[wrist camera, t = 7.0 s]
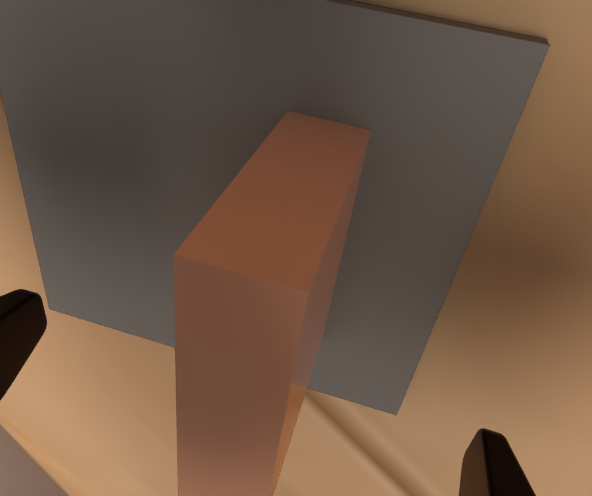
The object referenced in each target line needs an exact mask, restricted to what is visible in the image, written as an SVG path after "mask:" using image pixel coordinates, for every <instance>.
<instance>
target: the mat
mask: <svg viewBox="0 0 592 496" xmlns="http://www.w3.org/2000/svg"><path fill="white" fill-rule="evenodd" d="M549 46H550V45H549V43H548V41H547V39H542V38H537V37H532V36H527V35H522V34H517V33H512V32H507V31H502V30H497V29H491V28H486V27H481V26H476V25H471V24H466V23H461V22H456V21H451V20H446V19H441V18H436V17H431V16H426V15H421V14H415V13H410V12H405V11H400V10H395V9H390V8H385V7H380V6H375V5H370V4H365V3H360V2H355V1H350V0H0V90H1V95H2V99H3V104H4V108H5V113H6V117H7V122H8V126H9V131H10V135H11V140H12V144H13V149H14V153H15V158H16V162H17V167H18V171H19V176H20V180H21V185H22V189H23V194H24V198H25V203H26V207H27V212H28V216H29V221H30V225H31V230H32V234H33V239H34V243H35V248H36V252H37V257H38V261H39V265H40V270H41V274H42V279H43V283H44V288H45V292H46V297H47V301H48V306H49V309H51V310H54V311H57V312H60V313H64V314H67V315H70V316H73V317H77V318H80V319H83V320H87V321H90V322H93V323H96V324H100V325H103V326H106V327H109V328H113V329H116V330H119V331H122V332H126V333H129V334H132V335H136V336H139V337H142V338H145V339H149V340H152V341H155V342H158V343H162V344H165V345H168V346H171V347H175V312H174V261H173V255H174V253H175V252H176V251H177V250H178V248H179V247H180V246H181V245H182V243H183V242H184V241H185V240H186V238H187V237H188V236H189V235H190V233H191V232H192V231H193V230H194V228H195V227H196V226H197V225H198V223H199V222H200V221H201V220H202V218H203V217H204V216H205V215H206V213H207V212H208V211H209V210H210V208H211V207H212V206H213V205H214V203H215V202H216V201H217V200H218V198H219V197H220V196H221V195H222V193H223V192H224V191H225V190H226V188H227V187H228V186H229V184H230V183H231V182H232V181H233V179H234V178H235V177H236V176H237V174H238V173H239V172H240V171H241V169H242V168H243V167H244V166H245V164H246V163H247V162H248V161H249V159H250V158H251V157H252V156H253V154H254V153H255V152H256V151H257V149H258V148H259V147H260V146H261V144H262V143H263V142H264V141H265V139H266V138H267V137H268V136H269V134H270V133H271V132H272V131H273V129H274V128H275V127H276V126H277V124H278V123H279V122H280V121H281V119H282V118H283V117H284V116H285V114H286V113H287V112H288V111H290V112H295V113H299V114H303V115H308V116H312V117H316V118H321V119H325V120H329V121H334V122H338V123H342V124H347V125H351V126H355V127H360V128H364V129H368V130H371V133H370V137H369V141H368V146H367V150H366V154H365V158H364V163H363V167H362V171H361V176H360V180H359V184H358V189H357V193H356V197H355V201H354V206H353V210H352V214H351V219H350V223H349V227H348V231H347V236H346V240H345V244H344V249H343V253H342V257H341V262H340V266H339V270H338V274H337V279H336V283H335V287H334V292H333V296H332V300H331V304H330V309H329V313H328V317H327V322H326V326H325V330H324V335H323V339H322V342H321V345H320V348H319V352H318V355H317V358H316V361H315V364H314V367H313V371H312V374H311V377H310V380H309V383H308V387H307V388H309V389H312V390H315V391H318V392H322V393H325V394H328V395H332V396H335V397H338V398H341V399H345V400H348V401H351V402H354V403H358V404H361V405H364V406H367V407H371V408H374V409H377V410H381V411H384V412H387V413H390V414H394V415H397V413H398V411H399V408H400V406H401V403H402V401H403V399H404V396H405V394H406V391H407V389H408V386H409V384H410V382H411V379H412V377H413V374H414V372H415V370H416V367H417V365H418V362H419V360H420V358H421V355H422V353H423V350H424V348H425V345H426V343H427V341H428V338H429V336H430V333H431V331H432V329H433V326H434V324H435V321H436V319H437V317H438V314H439V312H440V309H441V307H442V304H443V302H444V300H445V297H446V295H447V292H448V290H449V288H450V285H451V283H452V280H453V278H454V275H455V273H456V271H457V268H458V266H459V263H460V261H461V259H462V256H463V254H464V251H465V249H466V247H467V244H468V242H469V239H470V237H471V234H472V232H473V230H474V227H475V225H476V222H477V220H478V218H479V215H480V213H481V210H482V208H483V206H484V203H485V201H486V198H487V196H488V193H489V191H490V189H491V186H492V184H493V181H494V179H495V177H496V174H497V172H498V169H499V167H500V165H501V162H502V160H503V157H504V155H505V152H506V150H507V148H508V145H509V143H510V140H511V138H512V136H513V133H514V131H515V128H516V126H517V123H518V121H519V119H520V116H521V114H522V111H523V109H524V107H525V104H526V102H527V99H528V97H529V95H530V92H531V90H532V87H533V85H534V82H535V80H536V78H537V75H538V73H539V70H540V68H541V66H542V63H543V61H544V58H545V56H546V54H547V51H548V49H549Z"/></svg>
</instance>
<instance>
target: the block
mask: <svg viewBox="0 0 592 496" xmlns="http://www.w3.org/2000/svg"><path fill="white" fill-rule="evenodd" d="M370 133H371V130H368V129H364V128H360V127H355V126H351V125H347V124H342V123H338V122H334V121H329V120H325V119H321V118H316V117H312V116H308V115H303V114H299V113H295V112H290V111H288V112H287V113H286V114H285V116H284V117H283V118H282V119H281V121H280V122H279V123H278V124H277V126H276V127H275V128H274V129H273V131H272V132H271V133H270V134H269V136H268V137H267V138H266V139H265V141H264V142H263V143H262V144H261V146H260V147H259V148H258V149H257V151H256V152H255V153H254V154H253V156H252V157H251V158H250V159H249V161H248V162H247V163H246V164H245V166H244V167H243V168H242V169H241V171H240V172H239V173H238V174H237V176H236V177H235V178H234V179H233V181H232V182H231V183H230V184H229V186H228V187H227V188H226V190H225V191H224V192H223V193H222V195H221V196H220V197H219V198H218V200H217V201H216V202H215V203H214V205H213V206H212V207H211V208H210V210H209V211H208V212H207V213H206V215H205V216H204V217H203V218H202V220H201V221H200V222H199V223H198V225H197V226H196V227H195V228H194V230H193V231H192V232H191V233H190V235H189V236H188V237H187V238H186V240H185V241H184V242H183V243H182V245H181V246H180V247H179V248H178V250H177V251H176V252H175V253H174V255H173V261H174V312H175V364H176V415H177V466H178V496H273V495H274V492H275V488H276V485H277V482H278V479H279V476H280V473H281V469H282V466H283V463H284V460H285V457H286V453H287V450H288V447H289V444H290V441H291V437H292V434H293V431H294V428H295V425H296V422H297V418H298V415H299V412H300V409H301V406H302V402H303V399H304V396H305V393H306V390H307V387H308V383H309V380H310V377H311V374H312V371H313V367H314V364H315V361H316V358H317V355H318V352H319V348H320V345H321V342H322V339H323V335H324V330H325V326H326V322H327V317H328V313H329V309H330V304H331V300H332V296H333V292H334V287H335V283H336V279H337V274H338V270H339V266H340V262H341V257H342V253H343V249H344V244H345V240H346V236H347V231H348V227H349V223H350V219H351V214H352V210H353V206H354V201H355V197H356V193H357V189H358V184H359V180H360V176H361V171H362V167H363V163H364V158H365V154H366V150H367V146H368V141H369V137H370Z"/></svg>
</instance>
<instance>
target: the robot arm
mask: <svg viewBox="0 0 592 496" xmlns="http://www.w3.org/2000/svg"><path fill="white" fill-rule="evenodd" d="M46 326H47V319H46V315H45V311H44V306H43V302H42V298H41V296H40V295H39V294H37V293H34V292H31V291H28V290H24V289H18V290H15V291H12V292H10V293H7V294H5V295H2V296H0V400H1V399H2V398H3V396H4V395H5V393H6V392H7V390H8V389H9V388H10V386H11V385H12V383H13V381H14V380H15V378H16V377H17V375H18V373H19V372H20V370H21V369H22V367H23V366H24V364H25V362H26V361H27V359H28V358H29V356H30V354H31V353H32V351H33V350H34V348H35V346H36V345H37V343H38V342H39V340H40V339H41V337H42V335H43V334H44V332H45V329H46ZM459 496H536V495H535V493H534V491H533V489H532V487H531V485H530V484H529V482H528V480H527V478H526V476H525V474H524V472H523V470H522V468H521V466H520V464H519V462H518V461H517V459H516V457H515V455H514V453H513V451H512V449H511V447H510V445H509V443H508V441H507V439H506V438H505V437H504V436H503V435H502V434H500V433H498V432H494V431H491V430H488V429H484V428H482V429H480V430H478V432H477V433H476V435H475V437H474V438H473V440H472V442H471V443H470V445H469V447H468V448H467V450H466V452H465V454H464V458H463V462H462V471H461V480H460V489H459Z"/></svg>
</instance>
